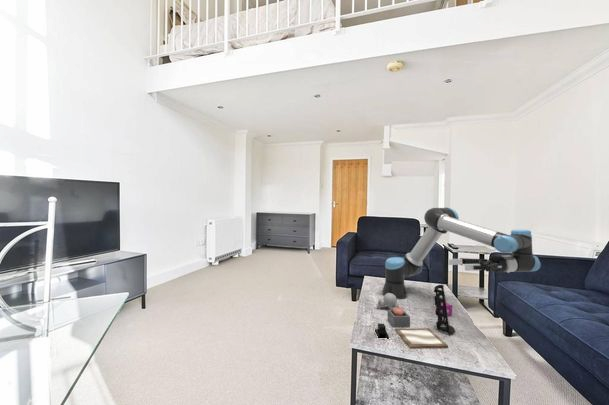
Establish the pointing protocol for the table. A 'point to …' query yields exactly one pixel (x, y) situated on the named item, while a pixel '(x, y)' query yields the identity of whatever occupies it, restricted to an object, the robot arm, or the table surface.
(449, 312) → the puzzle toy
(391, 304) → the round bodied animal figurine
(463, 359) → the table surface
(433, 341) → the board
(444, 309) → the holder
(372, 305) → the table surface
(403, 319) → the button housing
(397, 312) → the button
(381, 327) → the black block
